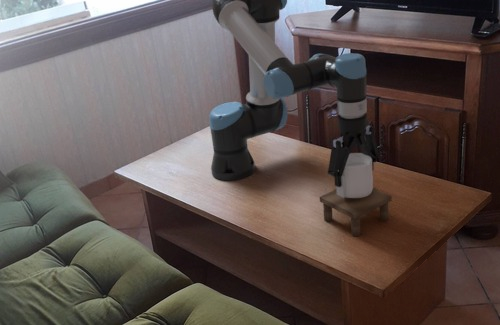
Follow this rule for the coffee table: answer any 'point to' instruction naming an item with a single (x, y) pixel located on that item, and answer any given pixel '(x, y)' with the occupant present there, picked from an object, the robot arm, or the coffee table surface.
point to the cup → (358, 175)
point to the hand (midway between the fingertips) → (354, 189)
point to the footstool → (356, 207)
